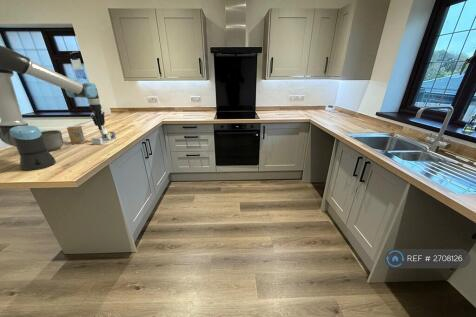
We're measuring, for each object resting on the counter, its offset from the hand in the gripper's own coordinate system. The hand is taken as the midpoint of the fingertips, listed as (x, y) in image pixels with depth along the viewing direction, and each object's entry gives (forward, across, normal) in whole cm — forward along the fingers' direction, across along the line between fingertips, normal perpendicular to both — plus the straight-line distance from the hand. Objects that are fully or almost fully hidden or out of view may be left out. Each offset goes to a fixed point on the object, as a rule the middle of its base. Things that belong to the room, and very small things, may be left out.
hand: (102, 133), depth 160 cm
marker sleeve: (+6, +3, 0) cm, 7 cm away
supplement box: (+7, -5, +19) cm, 21 cm away
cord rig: (+7, +1, 0) cm, 7 cm away
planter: (+7, -23, +22) cm, 33 cm away
